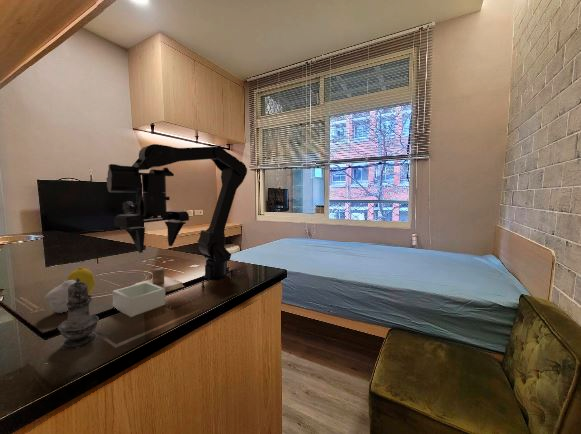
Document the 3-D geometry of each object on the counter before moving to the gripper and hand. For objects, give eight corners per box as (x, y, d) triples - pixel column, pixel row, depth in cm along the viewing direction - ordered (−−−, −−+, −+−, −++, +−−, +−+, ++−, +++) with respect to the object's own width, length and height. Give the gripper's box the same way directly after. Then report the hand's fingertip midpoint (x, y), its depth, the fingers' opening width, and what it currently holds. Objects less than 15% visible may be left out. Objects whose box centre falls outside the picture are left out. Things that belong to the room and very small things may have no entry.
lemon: (79, 303, 63) (78, 271, 62) (61, 300, 64) (60, 269, 63) (100, 295, 68) (99, 265, 68) (83, 292, 70) (82, 263, 69)
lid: (163, 279, 80) (163, 263, 80) (182, 286, 76) (182, 268, 75) (133, 288, 73) (133, 270, 72) (151, 295, 68) (151, 276, 68)
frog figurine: (89, 310, 60) (88, 280, 59) (48, 321, 54) (47, 289, 54) (81, 302, 64) (80, 275, 63) (42, 312, 58) (40, 282, 57)
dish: (147, 298, 68) (146, 281, 67) (165, 306, 63) (165, 288, 63) (112, 309, 61) (112, 290, 60) (130, 319, 57) (130, 299, 56)
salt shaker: (52, 353, 44) (49, 284, 43) (65, 335, 50) (63, 274, 48) (94, 346, 46) (92, 281, 45) (103, 330, 52) (101, 271, 51)
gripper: (164, 191, 82) (165, 240, 84) (99, 191, 66) (102, 252, 67) (189, 192, 77) (190, 244, 79) (127, 193, 61) (130, 258, 62)
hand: (156, 249), depth 72 cm, fingers open, 9 cm apart
